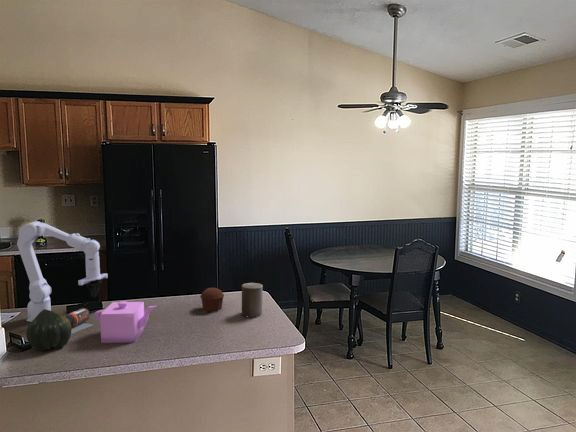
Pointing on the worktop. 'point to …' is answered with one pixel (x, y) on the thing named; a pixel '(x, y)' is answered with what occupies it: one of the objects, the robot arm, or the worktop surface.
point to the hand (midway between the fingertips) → (94, 296)
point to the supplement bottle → (78, 317)
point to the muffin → (212, 299)
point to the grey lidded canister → (252, 299)
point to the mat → (80, 327)
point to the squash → (48, 330)
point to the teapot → (122, 321)
